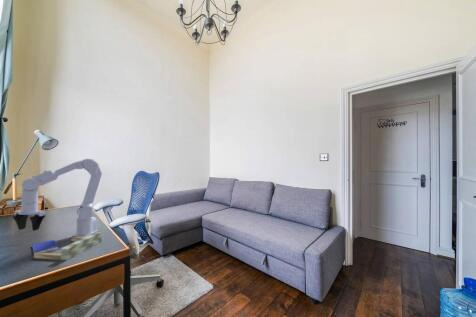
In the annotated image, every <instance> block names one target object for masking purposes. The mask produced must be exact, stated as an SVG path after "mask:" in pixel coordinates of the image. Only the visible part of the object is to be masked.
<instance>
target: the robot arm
mask: <svg viewBox="0 0 476 317" xmlns="http://www.w3.org/2000/svg"><path fill="white" fill-rule="evenodd" d="M83 169H84V170H85V171H86V172H88V173H89V175H90V178H89V180H88V184H87V186H86V190H85V194H84V197H83V200H82V203H81V204H80V206H79V207H78V208H77V210H76V215H77V216H78V217H77V218H76V233H75V234H73V235H72V236H71V238H72V237H87V236H89V235H91V234H93V233H95V232H99V230H98V219H97V218H96V217H94V216H93V214H94V213H93V212H94V211H93V207H94V201H95V197H96V195H97V190H98V188H99V184H100V181H101V179H102V175H103V174H102V171H101V168H100V164H99V163H98V162H97V161H96V160H94V159H93V158H84V159H82V160H78V161H75V162H72V163H69V164H67V165H66V166H62V167H61V168H58V169H56V170H52V169H49V170H47V169H46V170H44V171H43V172H42V173H39V174H37V175H32V176H31V178H29V177H28V178H26V179H24V180H23V181H22V183H21V187H22V190H21V203H20V204H21V205H20V209H18V210H14V212H13V214H14V215H13V216H12V219H13V220H14V221H15V223H16V225H17V228H18V230H19V231H21V230H25V229H26V227H27V226H26V225H27V221H28V218H29V219H30V221H31V227H32V231H33V232H35V231H38V230H39V229H40V227H41V224H42V222H43V220H44V219H45V217H46V214H45V213H46V211H44V210H40V209H39V192H38V189H39V187H40V186H45V185H47V184H49V183H52V182H54V181H56V180H57V179H58V178H59V176H61V175H65V174H66V173H69V172H72V171H74V170H83ZM29 216H30V217H29Z"/></svg>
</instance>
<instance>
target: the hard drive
mask: <svg viewBox="0 0 476 317" xmlns="http://www.w3.org/2000/svg"><path fill="white" fill-rule="evenodd" d="M58 249H59V246H58V244H57V242H56V240H55V239H51V240H46V241H43V242H38V243H34V244H32V252H33V255H34V254H36V253H38V252H40V253H48V252H50V251H54V250H58Z"/></svg>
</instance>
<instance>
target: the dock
mask: <svg viewBox="0 0 476 317" xmlns="http://www.w3.org/2000/svg"><path fill="white" fill-rule="evenodd" d="M70 241H71V242H72V243H70V244H68V245H65V246H63V247H61V248H60V253H55V252H53V253H52V252H43V253H40V252H38V253H36V254H34V253H33V258H34V259H43V260H60V261H69V260H70V259H72V258H74V257H76V256H78V255H79V254H81V253H83V252H86V251H87V250H88V249H90V248H92V247H94V246H96V245H98V244H100V243H101V242H102V231H97V232H95V233H93V234H91V235H89V236H86V237H72V236H71V240H70Z"/></svg>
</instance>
